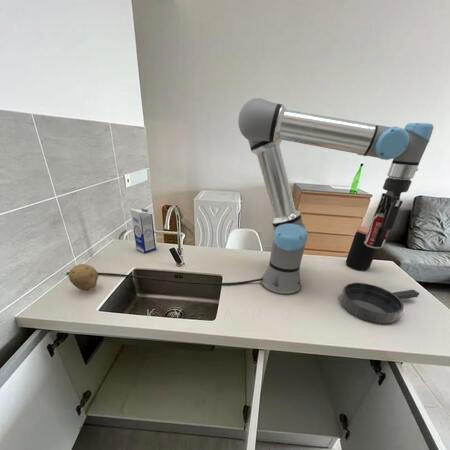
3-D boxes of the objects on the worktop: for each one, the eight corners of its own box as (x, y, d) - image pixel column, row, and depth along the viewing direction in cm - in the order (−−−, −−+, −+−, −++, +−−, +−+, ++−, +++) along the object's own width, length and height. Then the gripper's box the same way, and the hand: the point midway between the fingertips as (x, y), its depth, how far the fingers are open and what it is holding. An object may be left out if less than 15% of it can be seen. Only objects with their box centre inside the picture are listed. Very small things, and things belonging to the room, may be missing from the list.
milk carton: (136, 249, 121) (130, 208, 110) (147, 245, 125) (143, 206, 115) (144, 253, 117) (139, 211, 107) (156, 249, 121) (152, 209, 111)
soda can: (385, 250, 91) (398, 218, 84) (366, 248, 92) (378, 216, 86) (379, 243, 96) (391, 213, 90) (361, 241, 97) (372, 211, 91)
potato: (81, 282, 93) (74, 258, 88) (105, 283, 93) (99, 259, 88) (68, 295, 85) (60, 270, 80) (94, 296, 85) (87, 271, 80)
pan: (366, 328, 78) (371, 317, 75) (328, 295, 94) (332, 285, 91) (411, 320, 83) (417, 309, 80) (368, 289, 99) (372, 280, 96)
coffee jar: (374, 270, 114) (389, 233, 105) (355, 272, 111) (369, 234, 102) (357, 260, 123) (370, 225, 113) (340, 262, 120) (352, 226, 111)
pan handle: (392, 301, 88) (394, 296, 87) (386, 297, 90) (388, 293, 89) (417, 297, 91) (419, 293, 90) (411, 293, 93) (413, 289, 93)
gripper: (424, 183, 73) (393, 254, 85) (401, 175, 89) (377, 235, 101) (397, 181, 74) (369, 251, 86) (378, 173, 90) (358, 233, 102)
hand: (374, 242), depth 93 cm, fingers closed on soda can, 7 cm apart
